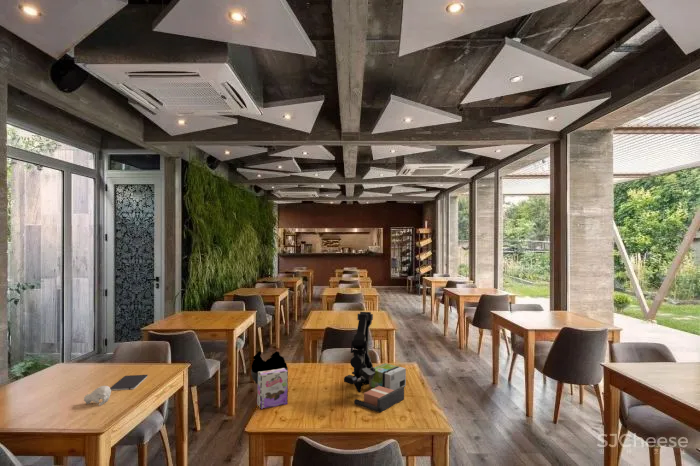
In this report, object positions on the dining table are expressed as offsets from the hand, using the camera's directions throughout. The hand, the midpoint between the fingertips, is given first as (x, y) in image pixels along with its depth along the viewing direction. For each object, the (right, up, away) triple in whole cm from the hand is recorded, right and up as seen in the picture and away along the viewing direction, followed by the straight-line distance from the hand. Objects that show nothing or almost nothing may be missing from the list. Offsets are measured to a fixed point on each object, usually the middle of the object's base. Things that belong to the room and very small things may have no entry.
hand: (359, 392), depth 206 cm
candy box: (-43, -1, -13) cm, 45 cm away
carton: (+10, -1, -9) cm, 13 cm away
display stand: (+9, -1, -8) cm, 12 cm away
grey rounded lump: (-129, -1, -12) cm, 130 cm away
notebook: (-129, -2, +17) cm, 130 cm away
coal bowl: (-49, -2, +11) cm, 50 cm away
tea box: (+22, +3, +7) cm, 23 cm away
